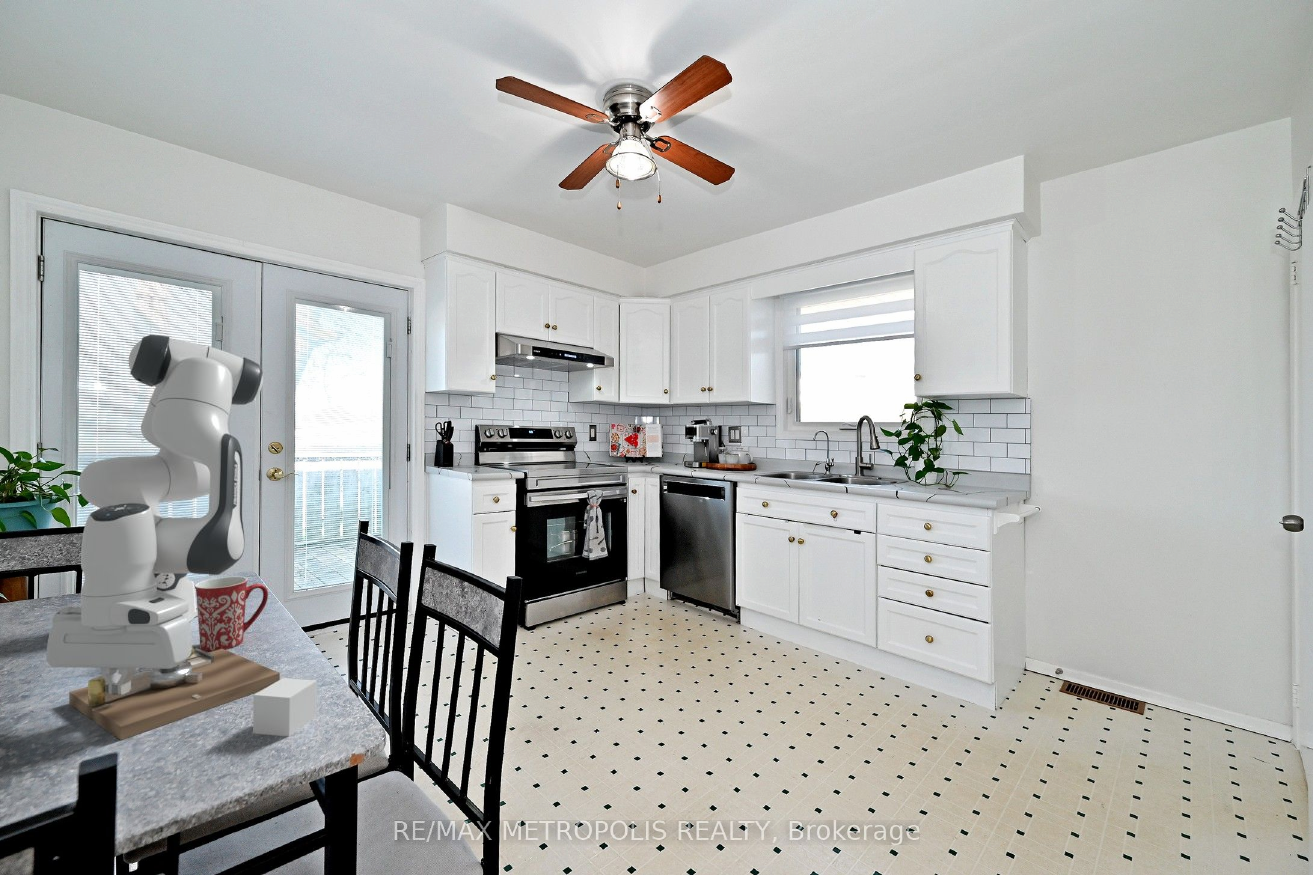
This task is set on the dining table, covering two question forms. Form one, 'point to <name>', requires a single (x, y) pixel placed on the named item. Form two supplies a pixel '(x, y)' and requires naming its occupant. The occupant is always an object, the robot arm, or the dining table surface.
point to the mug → (224, 611)
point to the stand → (179, 694)
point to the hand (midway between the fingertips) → (119, 693)
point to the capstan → (143, 682)
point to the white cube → (284, 707)
